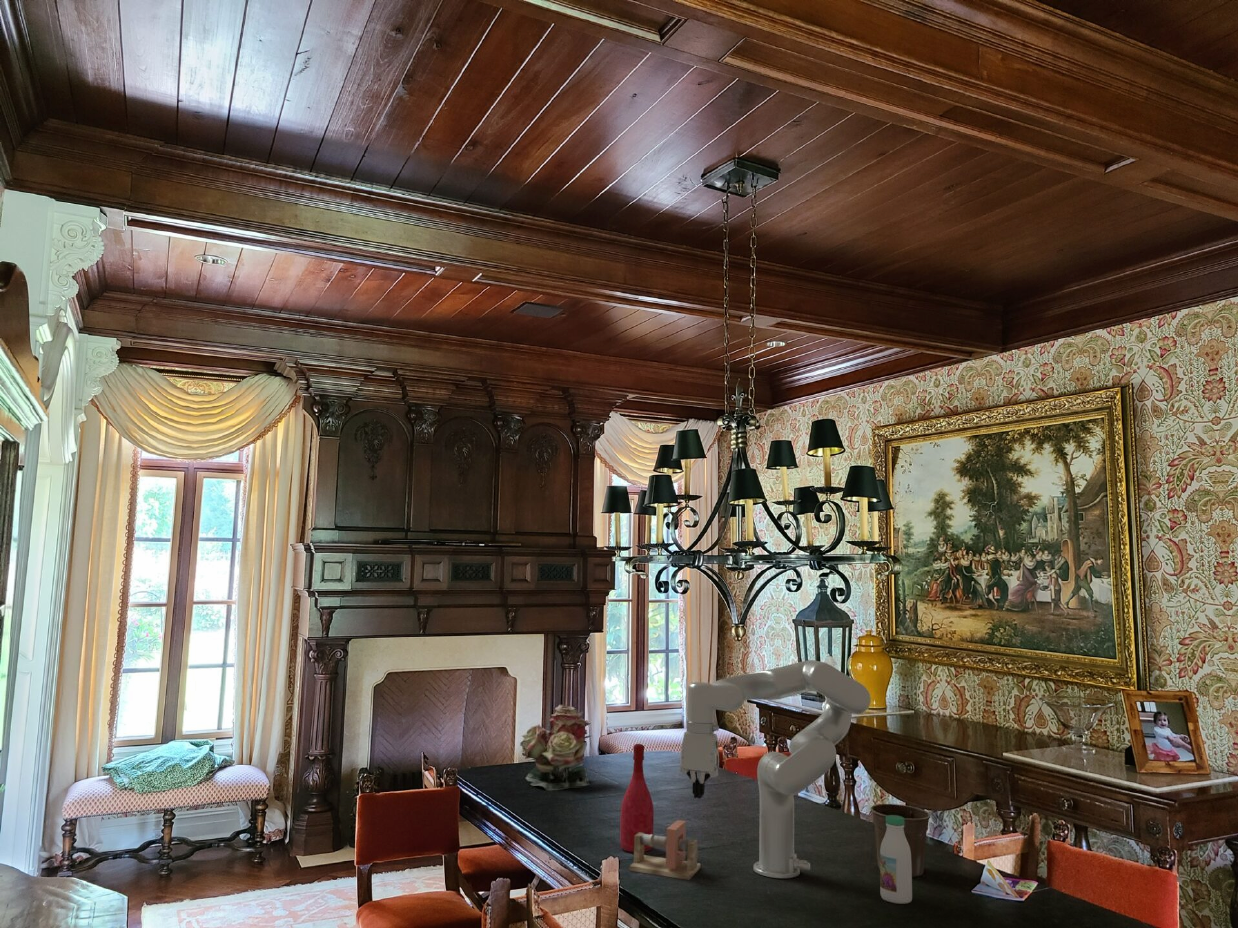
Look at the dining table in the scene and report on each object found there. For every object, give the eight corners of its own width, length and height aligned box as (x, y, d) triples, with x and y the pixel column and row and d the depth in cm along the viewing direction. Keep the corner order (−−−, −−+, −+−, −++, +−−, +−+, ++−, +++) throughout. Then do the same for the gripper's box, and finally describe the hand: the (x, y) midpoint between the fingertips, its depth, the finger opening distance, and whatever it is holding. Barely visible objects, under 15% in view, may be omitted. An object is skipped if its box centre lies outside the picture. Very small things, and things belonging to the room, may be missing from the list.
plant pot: (942, 872, 241) (941, 812, 243) (914, 884, 230) (913, 821, 232) (889, 857, 253) (888, 800, 255) (860, 868, 242) (859, 808, 244)
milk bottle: (905, 893, 222) (904, 813, 225) (916, 904, 214) (915, 820, 217) (876, 893, 222) (875, 812, 225) (886, 904, 214) (885, 820, 217)
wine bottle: (624, 854, 248) (627, 747, 252) (615, 844, 257) (618, 741, 262) (657, 852, 250) (659, 746, 255) (647, 843, 260) (649, 740, 264)
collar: (685, 858, 239) (685, 820, 241) (674, 868, 230) (675, 829, 232) (676, 857, 240) (677, 819, 242) (665, 867, 231) (666, 828, 233)
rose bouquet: (512, 778, 342) (516, 701, 347) (581, 774, 354) (583, 699, 358) (532, 793, 319) (535, 710, 323) (604, 788, 330) (607, 708, 335)
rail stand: (700, 867, 238) (700, 835, 239) (689, 879, 228) (689, 845, 229) (642, 859, 244) (643, 827, 245) (629, 870, 234) (630, 837, 235)
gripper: (729, 729, 239) (728, 797, 236) (678, 723, 244) (676, 791, 242) (723, 732, 232) (721, 803, 229) (670, 727, 237) (668, 796, 235)
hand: (698, 796), depth 236 cm, fingers closed
